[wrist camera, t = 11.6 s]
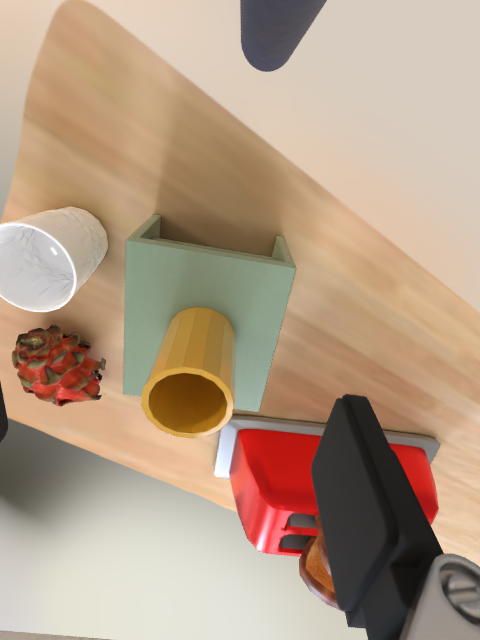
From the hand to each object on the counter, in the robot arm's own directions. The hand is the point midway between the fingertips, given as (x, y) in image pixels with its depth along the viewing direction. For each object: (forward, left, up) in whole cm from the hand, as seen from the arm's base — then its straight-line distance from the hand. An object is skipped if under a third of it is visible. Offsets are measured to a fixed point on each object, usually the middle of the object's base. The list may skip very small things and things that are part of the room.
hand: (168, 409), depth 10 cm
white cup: (+6, -15, -31) cm, 35 cm away
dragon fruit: (+21, -16, -31) cm, 40 cm away
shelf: (+10, 0, -30) cm, 32 cm away
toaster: (+34, +20, -31) cm, 50 cm away
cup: (+10, 0, -20) cm, 23 cm away
